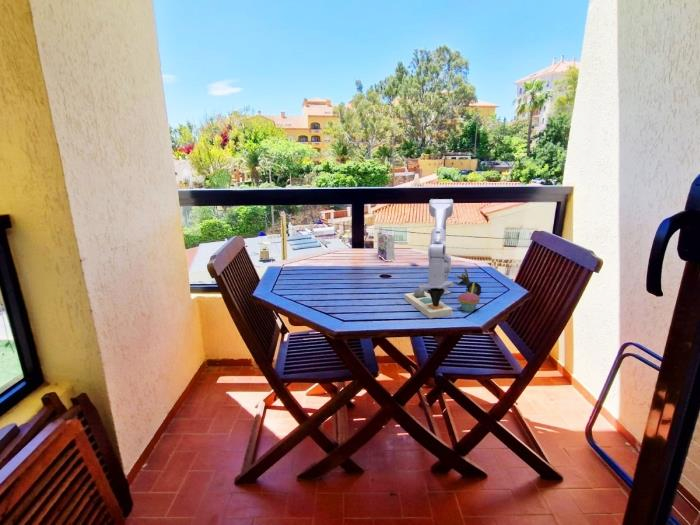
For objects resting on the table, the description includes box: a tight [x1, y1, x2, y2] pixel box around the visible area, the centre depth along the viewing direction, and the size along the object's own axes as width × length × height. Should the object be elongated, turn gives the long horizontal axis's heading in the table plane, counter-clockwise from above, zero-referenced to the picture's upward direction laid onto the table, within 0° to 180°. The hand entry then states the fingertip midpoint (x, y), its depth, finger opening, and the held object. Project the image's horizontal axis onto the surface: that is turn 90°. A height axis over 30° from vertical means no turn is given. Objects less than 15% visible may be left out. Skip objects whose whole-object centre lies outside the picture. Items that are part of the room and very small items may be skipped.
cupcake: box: [457, 281, 480, 312], centre depth 160 cm, size 9×8×12 cm
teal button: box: [422, 298, 432, 304], centre depth 165 cm, size 4×4×3 cm
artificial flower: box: [454, 268, 482, 297], centre depth 186 cm, size 9×22×10 cm, turn 172°
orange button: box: [430, 304, 441, 310], centre depth 159 cm, size 4×4×3 cm
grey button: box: [413, 289, 425, 298], centre depth 171 cm, size 4×4×3 cm
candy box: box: [377, 230, 395, 260], centre depth 242 cm, size 14×6×16 cm, turn 17°
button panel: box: [403, 290, 453, 319], centre depth 165 cm, size 23×10×2 cm, turn 18°
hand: (435, 305), depth 159 cm, fingers closed
